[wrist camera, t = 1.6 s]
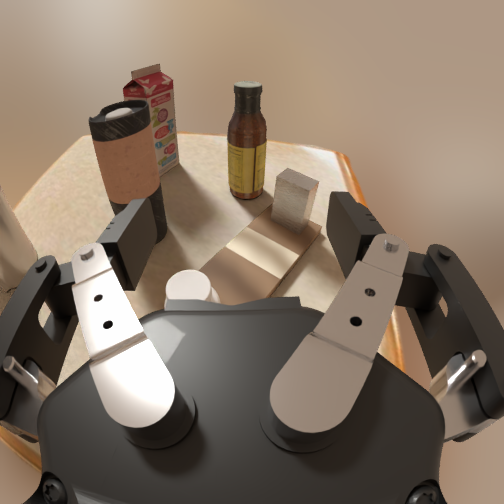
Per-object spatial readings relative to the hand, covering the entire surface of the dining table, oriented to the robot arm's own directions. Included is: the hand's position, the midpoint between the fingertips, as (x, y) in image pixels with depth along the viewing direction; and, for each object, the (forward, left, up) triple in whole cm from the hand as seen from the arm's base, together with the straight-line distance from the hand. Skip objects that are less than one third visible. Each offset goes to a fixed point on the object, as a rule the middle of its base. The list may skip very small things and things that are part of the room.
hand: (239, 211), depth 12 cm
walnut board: (+14, +7, -21) cm, 26 cm away
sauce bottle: (+25, +18, -21) cm, 38 cm away
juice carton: (+21, +38, -21) cm, 48 cm away
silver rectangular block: (+22, +7, -20) cm, 30 cm away
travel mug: (+7, +24, -21) cm, 33 cm away
